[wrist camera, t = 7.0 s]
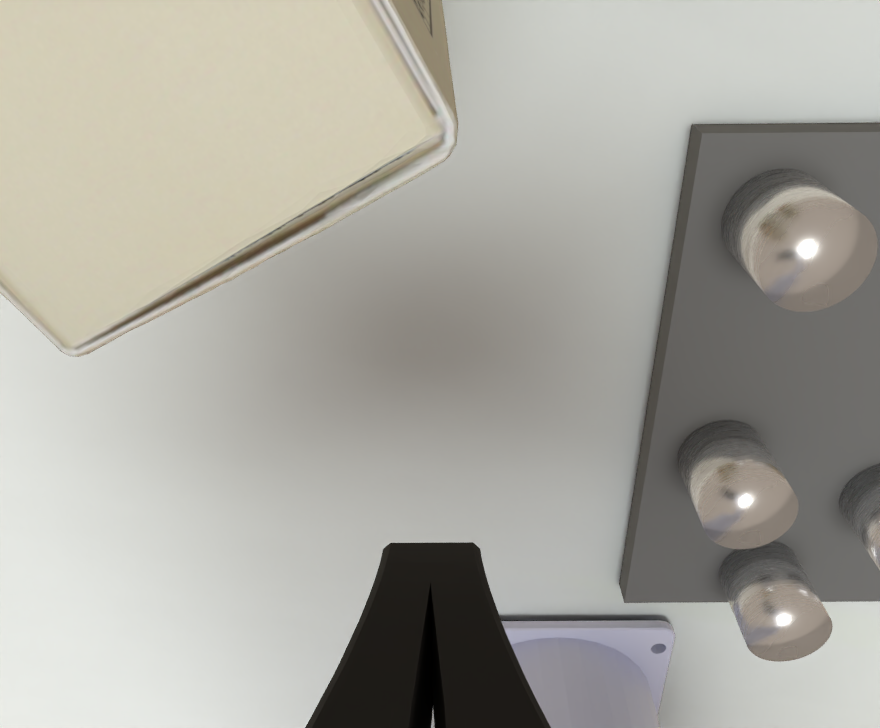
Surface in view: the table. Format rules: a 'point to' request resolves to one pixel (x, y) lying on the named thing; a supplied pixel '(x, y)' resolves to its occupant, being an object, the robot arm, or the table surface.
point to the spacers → (740, 446)
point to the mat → (760, 371)
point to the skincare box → (198, 142)
